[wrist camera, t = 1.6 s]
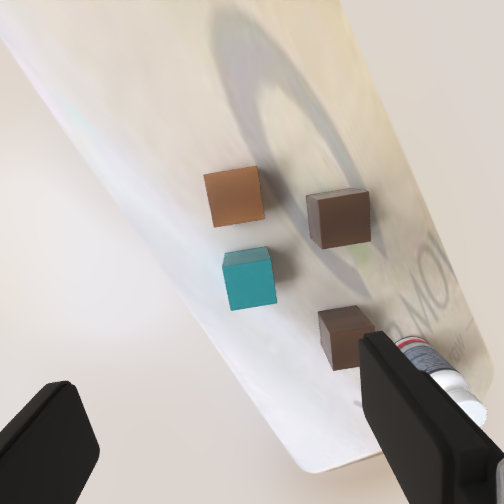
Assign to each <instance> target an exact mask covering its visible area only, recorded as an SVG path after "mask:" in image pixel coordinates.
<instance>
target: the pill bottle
mask: <svg viewBox="0 0 504 504" xmlns="http://www.w3.org/2000/svg"><path fill="white" fill-rule="evenodd" d="M395 345H396V346H397V347H398V348H399V349H400V350H401V351H402V352H403V353H404V354H405V356H406V357H407V358H408V359H409V360H410V361H411V362H412V363H413V364H414V365H415V367H416V368H417V369H418V370H423V371H426V372H427V373H428V374H429V375H430V376H431V377H432V378H433V379H434V380H435V381H436V382H437V383H438V384H439V385H440V386H441V387H442V388H443V389H444V390H445V391H446V392H447V394H448V395H449V396H450V397H451V398H452V399H453V400H454V401H455V402H456V403H457V404H458V405H459V406H460V407H461V408H462V409H463V410H464V411H465V413H466V414H467V415H468V416H469V417H470V418H471V419H472V420H473V421H474V422H475V423H476V424H477V425H478V426H479V427H481V426H482V425H483V424H484V423H485V421H486V418H487V410H486V408H485V406H484V405H483V404H482V403H481V402H480V401H479V400H478V399H477V398H476V396H475V395H473V394H472V393H471V389H470V385H469V383H468V382H467V380H466V379H465V378H464V377H463V376H462V375H461V373H459V372H458V371H457V370H456V369H455V368H454V367H453V366H452V365H451V364H450V363H448V362H447V361H446V360H445V359H444V358H443V357H442V356H441V355H440V354H439V353H438V352H437V351H436V350H435V349H434V348H433V347H432V346H431V345H429V344H428V343H427V342H426V341H425V340H423V339H421V338H417V337H408V338H405V339H402V340H400V341H398V342H397V343H396V344H395Z"/></svg>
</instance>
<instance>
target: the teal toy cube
mask: <svg viewBox="0 0 504 504" xmlns="http://www.w3.org/2000/svg"><path fill="white" fill-rule="evenodd" d="M222 270H223V275H224V279H225V284H226V289H227V294H228V299H229V304H230V309H231V311H233V310H239V309H245V308H251V307H257V306H263V305H270V304H276V303H277V298H276V291H275V284H274V277H273V271H272V264H271V258H270V255H269V252H268V250H267V247H260V248H254V249H248V250H242V251H236V252H230V253H225V256H224V260H223V265H222Z"/></svg>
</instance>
